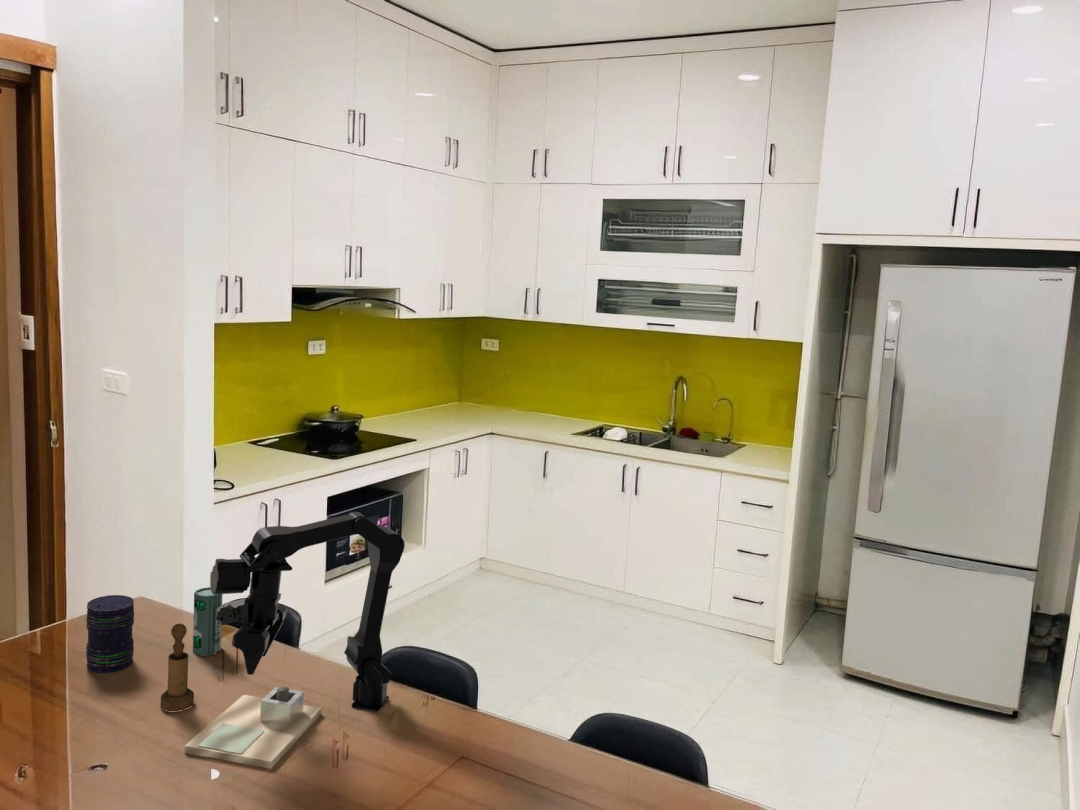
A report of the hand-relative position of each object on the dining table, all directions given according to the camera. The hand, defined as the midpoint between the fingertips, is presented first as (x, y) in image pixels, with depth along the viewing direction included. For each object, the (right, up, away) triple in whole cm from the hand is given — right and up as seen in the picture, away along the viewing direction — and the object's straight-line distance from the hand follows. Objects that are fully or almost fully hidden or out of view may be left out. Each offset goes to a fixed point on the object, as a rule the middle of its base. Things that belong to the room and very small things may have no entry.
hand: (256, 664), depth 175 cm
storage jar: (-42, -7, +24) cm, 49 cm away
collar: (+4, -12, +4) cm, 13 cm away
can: (-24, -7, +35) cm, 43 cm away
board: (0, -14, 0) cm, 14 cm away
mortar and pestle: (-20, -11, +8) cm, 24 cm away
